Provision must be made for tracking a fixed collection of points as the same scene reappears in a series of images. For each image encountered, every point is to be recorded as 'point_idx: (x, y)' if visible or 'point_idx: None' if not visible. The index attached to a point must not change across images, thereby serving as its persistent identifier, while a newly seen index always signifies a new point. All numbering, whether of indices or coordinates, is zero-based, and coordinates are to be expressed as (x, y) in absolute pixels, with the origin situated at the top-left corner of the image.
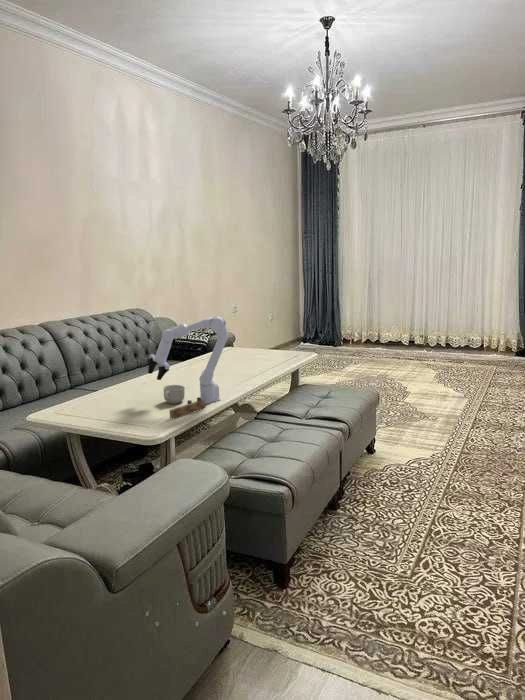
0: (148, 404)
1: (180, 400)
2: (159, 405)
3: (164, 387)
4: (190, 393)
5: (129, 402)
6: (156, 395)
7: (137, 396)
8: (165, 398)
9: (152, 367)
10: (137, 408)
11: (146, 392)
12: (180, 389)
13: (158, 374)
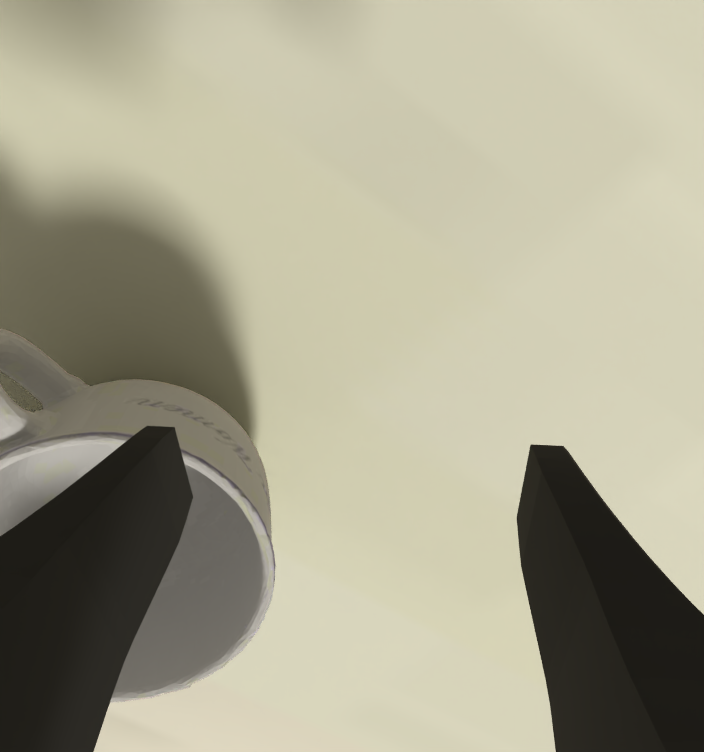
0: (306, 215)
1: (19, 501)
2: (164, 282)
3: (223, 489)
4: (294, 702)
5: (561, 106)
6: (513, 460)
7: (656, 309)
8: (11, 333)
9: (564, 648)
10: (266, 7)
11: (677, 445)
12: (166, 642)
13: (63, 516)
